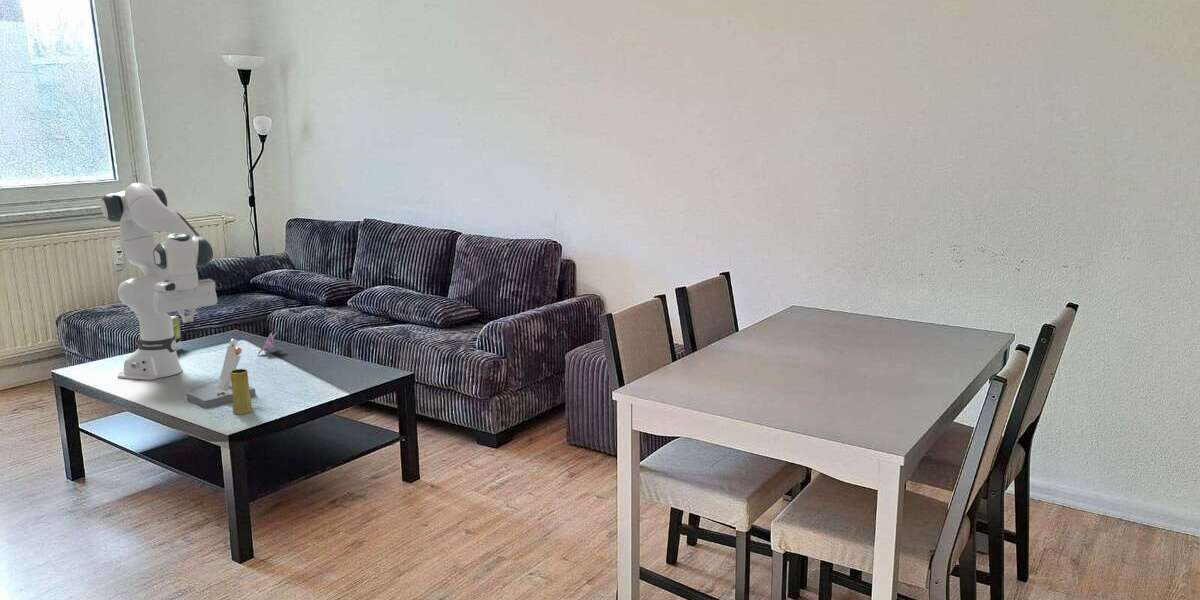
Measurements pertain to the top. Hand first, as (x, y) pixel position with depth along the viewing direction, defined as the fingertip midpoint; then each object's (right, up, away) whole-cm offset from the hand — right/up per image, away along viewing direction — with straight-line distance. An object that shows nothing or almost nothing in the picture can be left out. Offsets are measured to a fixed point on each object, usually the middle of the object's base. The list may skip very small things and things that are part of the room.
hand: (188, 321), depth 294 cm
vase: (+20, -30, -3) cm, 37 cm away
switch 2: (+9, -24, +7) cm, 26 cm away
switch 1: (+5, -22, +16) cm, 28 cm away
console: (+7, -27, +11) cm, 30 cm away
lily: (+2, -15, +68) cm, 70 cm away
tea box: (-44, -15, +70) cm, 85 cm away
